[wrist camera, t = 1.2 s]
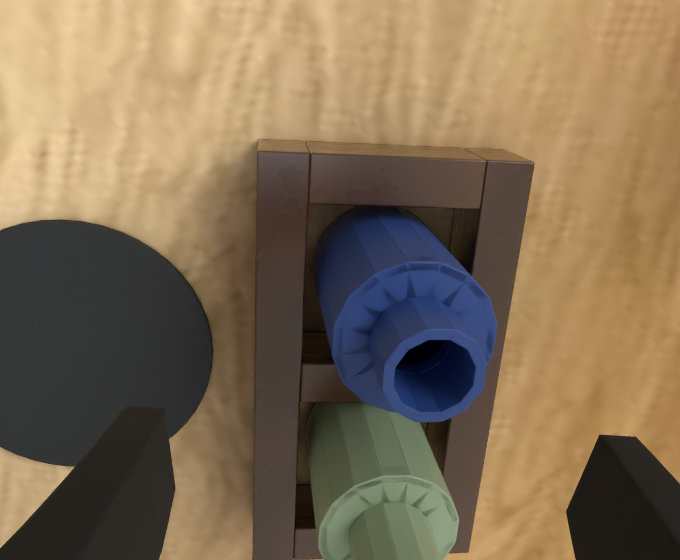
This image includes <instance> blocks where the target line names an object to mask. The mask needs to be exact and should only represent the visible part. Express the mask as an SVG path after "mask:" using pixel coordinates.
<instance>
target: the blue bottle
mask: <svg viewBox="0 0 680 560" xmlns="http://www.w3.org/2000/svg"><path fill="white" fill-rule="evenodd" d="M314 279H315V284H316V288H317V293H318V297H319V301H320V306H321V310H322V315H323V319H324V323H325V328H326V332H327V337H328V341H329V345H330V350H331V354H332V358H333V360H334V363H335V365H336V368H337V370H338V373H339V375H340V378H341V380H342V382H343V383H344V384H345V385H346V386H347V387H348V388H349V389H350V390H351V391H352V392H353V393H354V394H355V395H357V396H358V397H359V398H360V399H361V400H362V401H363V402H365V403H367V404H370V405H373V406H376V407H378V408H381V409H384V410H387V411H389V412H397V413H399V414H401V415H402V416H404V417H406V418H408V419H410V420H412V421H414V422H442V421H445V420H447V419H449V418H451V417H453V416H455V415H457V414H459V413H461V412H463V411H465V410H466V409H468V407H469V406H470V405H471V404H472V402H473V401H474V400H475V399H476V397H477V396H478V395H479V394H480V392H481V391H482V390H483V387H484V381H485V375H486V369H487V364H488V362H489V361H490V359H491V357H492V355H493V351H494V345H495V339H496V333H497V321H496V318H495V314H494V310H493V307H492V303H491V299H490V297H489V295H488V294H487V293H486V292H485V291H484V290H483V289H482V287H481V286H480V285H479V284H478V283H477V282H476V281H475V279H474V278H473V277H472V276H471V275H470V274H469V273H468V272H467V271H466V269H465V268H464V267H463V266H462V265H461V264H460V263H459V262H458V261H457V260H456V259H455V257H454V256H453V255H452V254H451V253H450V252H449V251H448V250H447V249H446V248H445V247H444V246H443V244H442V243H441V242H440V241H439V240H438V239H437V238H436V237H435V236H434V235H433V234H432V233H431V231H430V230H429V229H428V228H427V227H426V226H425V225H424V224H423V223H422V222H421V221H420V220H419V218H418V217H416V216H414V215H413V214H411V213H410V212H408V211H406V210H405V209H402V208H400V207H393V206H359V207H356V208H354V209H351V210H349V211H347V212H346V213H344V214H342V215H341V216H339V217H338V218H337V219H336V220H334V221H333V222H332V223H331V224H330V226H329V227H328V228H327V229H326V231H325V232H324V233H323V235H322V237H321V239H320V240H319V243H318V245H317V248H316V252H315V257H314Z"/></svg>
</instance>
